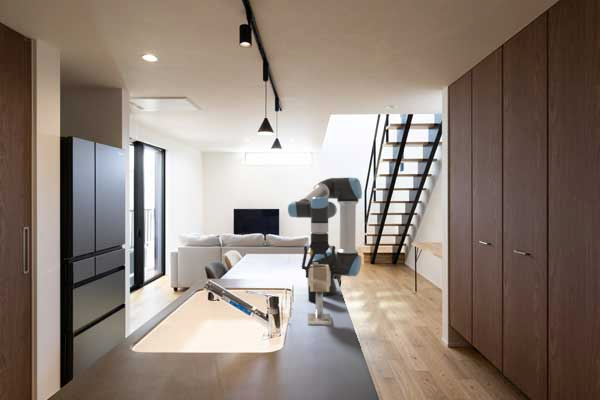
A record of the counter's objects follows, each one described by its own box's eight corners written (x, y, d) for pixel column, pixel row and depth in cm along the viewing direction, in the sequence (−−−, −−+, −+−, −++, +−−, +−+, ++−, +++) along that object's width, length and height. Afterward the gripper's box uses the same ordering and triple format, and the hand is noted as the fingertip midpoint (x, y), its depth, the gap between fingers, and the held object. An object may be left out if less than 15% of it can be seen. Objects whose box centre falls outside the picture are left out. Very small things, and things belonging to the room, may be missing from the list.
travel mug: (323, 299, 193) (323, 261, 193) (322, 303, 185) (322, 263, 186) (308, 298, 194) (308, 260, 194) (307, 302, 186) (307, 263, 186)
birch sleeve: (309, 287, 162) (310, 264, 162) (327, 287, 162) (328, 264, 162) (310, 291, 154) (310, 267, 154) (329, 291, 154) (329, 267, 154)
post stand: (307, 316, 163) (307, 287, 163) (329, 317, 163) (330, 287, 163) (307, 324, 153) (307, 293, 153) (331, 324, 153) (331, 293, 153)
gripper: (295, 233, 155) (295, 287, 155) (344, 233, 154) (344, 287, 154) (295, 231, 162) (295, 283, 162) (342, 232, 162) (342, 283, 162)
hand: (319, 285), depth 158 cm, fingers closed on birch sleeve, 8 cm apart
